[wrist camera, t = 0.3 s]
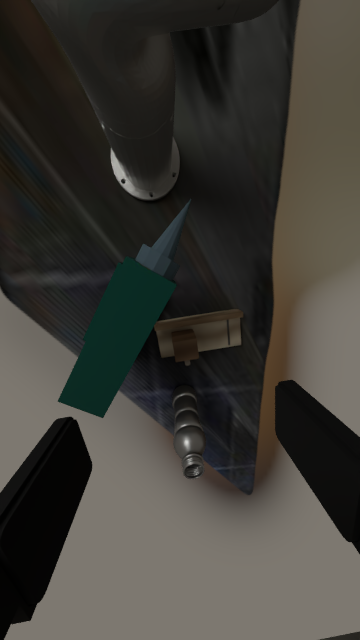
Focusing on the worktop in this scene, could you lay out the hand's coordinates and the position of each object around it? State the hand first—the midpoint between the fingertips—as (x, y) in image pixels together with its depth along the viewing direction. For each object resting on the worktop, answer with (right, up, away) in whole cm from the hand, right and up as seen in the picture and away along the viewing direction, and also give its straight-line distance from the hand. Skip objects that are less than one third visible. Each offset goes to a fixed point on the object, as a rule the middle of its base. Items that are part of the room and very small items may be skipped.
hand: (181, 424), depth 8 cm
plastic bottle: (+1, -15, +41) cm, 44 cm away
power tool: (-8, +11, +33) cm, 36 cm away
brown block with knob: (+1, -1, +35) cm, 35 cm away
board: (+5, +2, +36) cm, 37 cm away
